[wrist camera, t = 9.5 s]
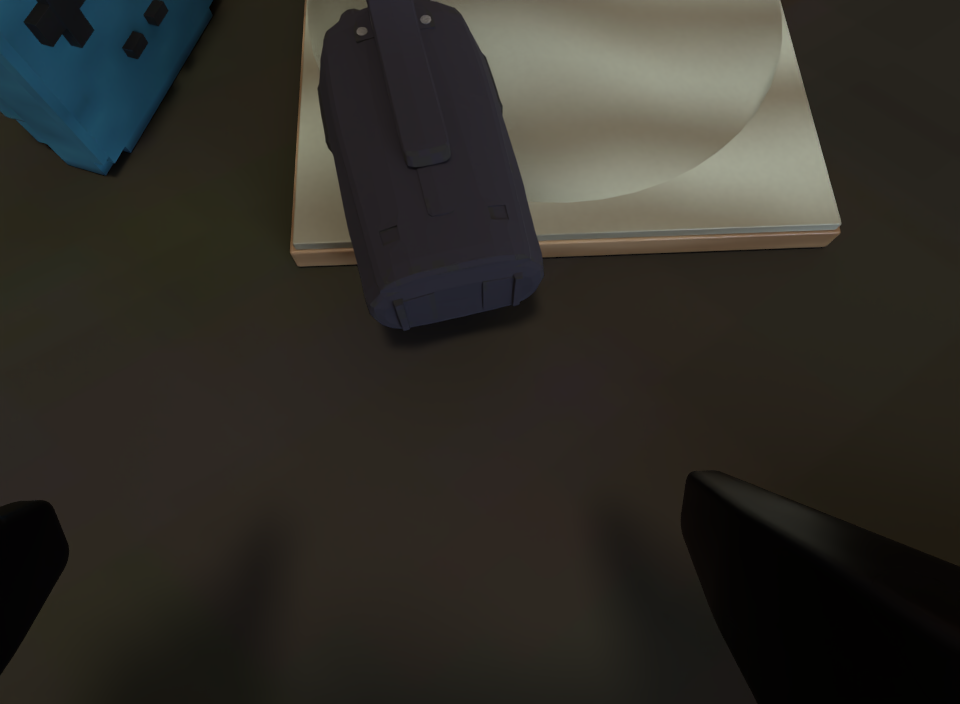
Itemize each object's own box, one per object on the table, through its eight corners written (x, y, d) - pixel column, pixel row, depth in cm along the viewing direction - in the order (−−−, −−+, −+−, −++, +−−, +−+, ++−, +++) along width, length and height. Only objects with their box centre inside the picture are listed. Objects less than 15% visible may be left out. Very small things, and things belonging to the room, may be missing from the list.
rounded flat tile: (825, 247, 21) (849, 226, 20) (297, 267, 21) (285, 247, 19) (726, -132, 28) (739, -168, 26) (318, -124, 27) (310, -160, 26)
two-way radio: (551, 307, 19) (444, -42, 24) (571, 230, 15) (435, -174, 20) (371, 347, 18) (300, -16, 23) (338, 280, 14) (260, -145, 19)
